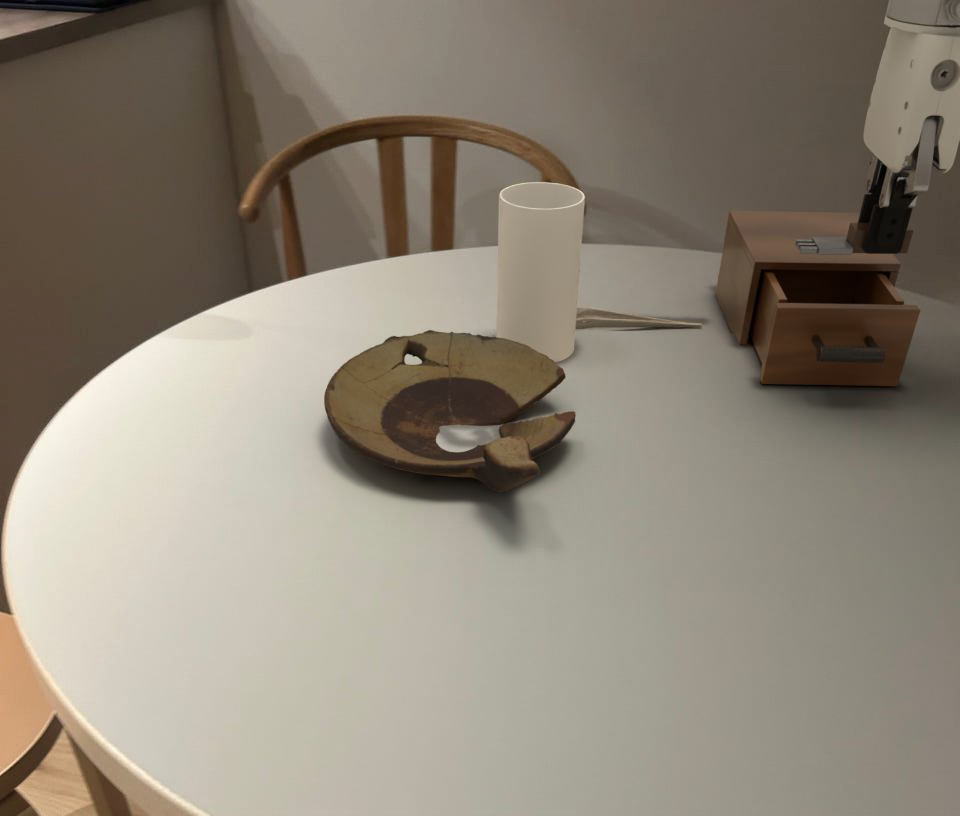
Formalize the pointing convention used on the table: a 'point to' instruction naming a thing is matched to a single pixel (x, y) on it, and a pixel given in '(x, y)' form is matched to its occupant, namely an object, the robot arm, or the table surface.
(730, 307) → the cabinet
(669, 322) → the tweezers
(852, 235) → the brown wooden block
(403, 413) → the broken ceramic dish
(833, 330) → the drawer
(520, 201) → the cup
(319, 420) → the table surface
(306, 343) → the table surface
